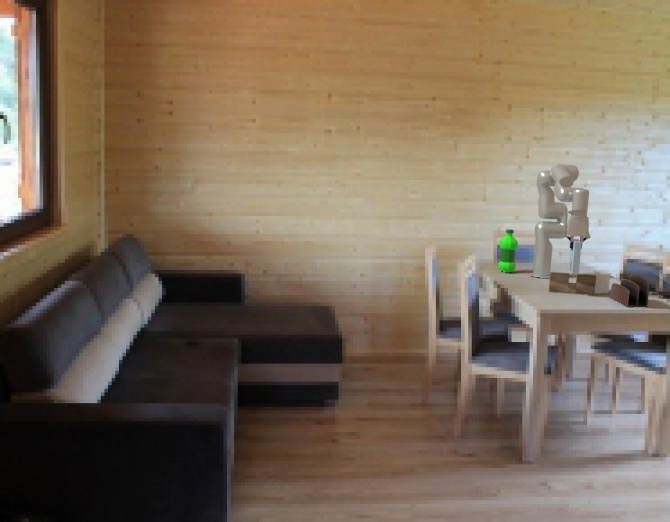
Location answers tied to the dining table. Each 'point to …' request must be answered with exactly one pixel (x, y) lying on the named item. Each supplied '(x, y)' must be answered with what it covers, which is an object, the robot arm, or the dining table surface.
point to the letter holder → (631, 291)
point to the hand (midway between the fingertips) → (575, 249)
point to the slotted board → (582, 285)
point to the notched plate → (575, 256)
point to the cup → (602, 281)
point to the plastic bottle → (508, 252)
